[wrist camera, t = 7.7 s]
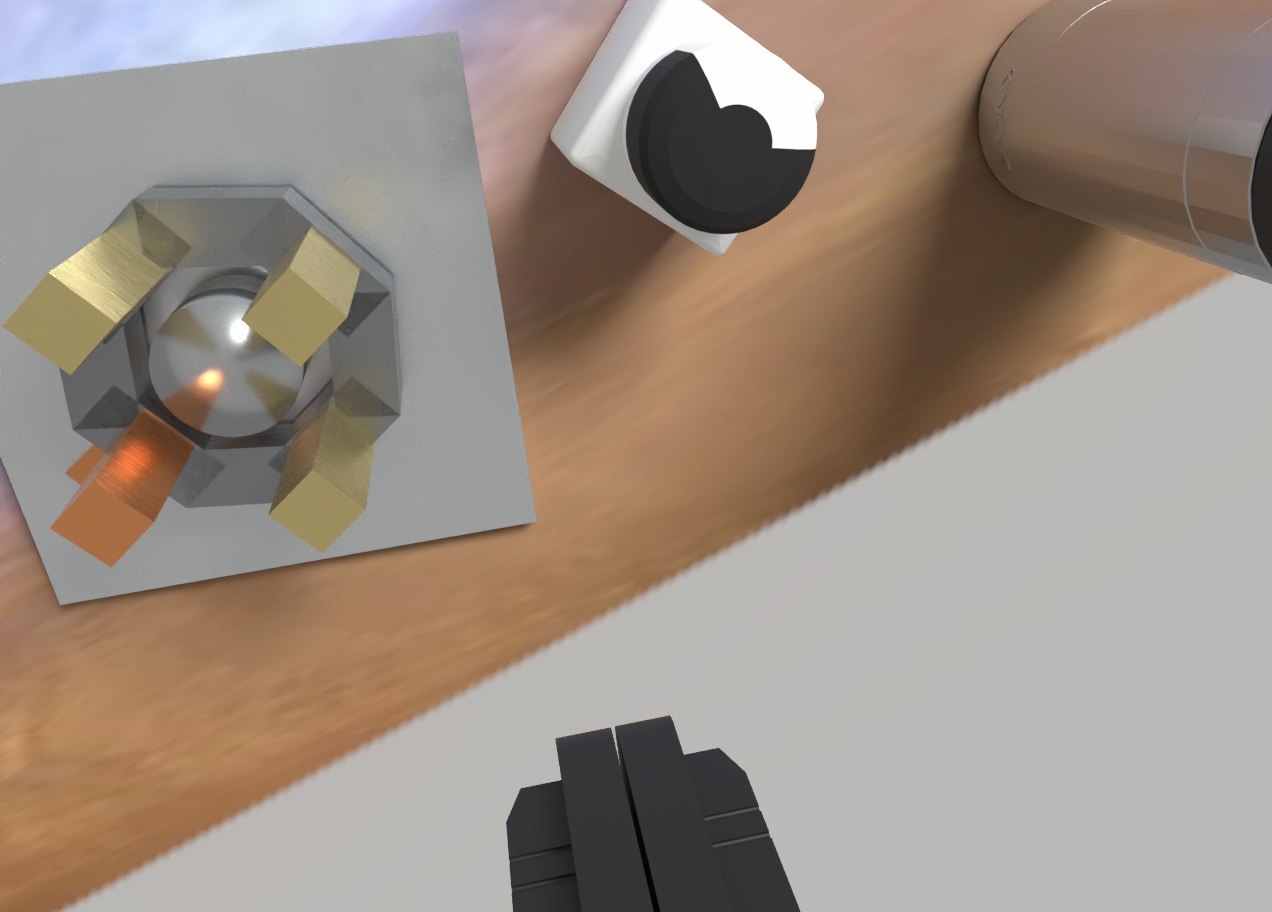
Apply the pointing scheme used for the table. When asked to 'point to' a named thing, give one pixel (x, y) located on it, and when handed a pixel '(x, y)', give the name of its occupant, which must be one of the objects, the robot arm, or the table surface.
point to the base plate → (219, 296)
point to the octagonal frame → (280, 312)
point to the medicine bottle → (692, 121)
